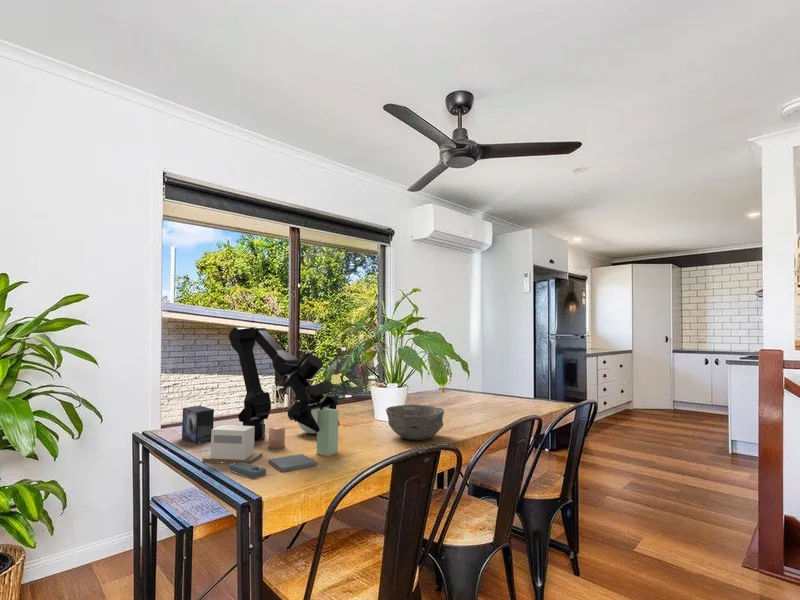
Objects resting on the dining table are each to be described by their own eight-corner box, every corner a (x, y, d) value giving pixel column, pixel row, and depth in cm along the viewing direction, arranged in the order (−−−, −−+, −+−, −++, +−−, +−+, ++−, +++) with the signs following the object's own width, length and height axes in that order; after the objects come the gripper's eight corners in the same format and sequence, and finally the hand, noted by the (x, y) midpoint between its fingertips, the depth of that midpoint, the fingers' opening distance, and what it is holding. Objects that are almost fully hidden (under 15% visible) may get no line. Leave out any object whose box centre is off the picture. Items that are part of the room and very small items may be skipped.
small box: (180, 438, 150) (181, 407, 151) (198, 435, 155) (200, 405, 156) (194, 444, 143) (196, 411, 144) (213, 440, 148) (215, 408, 149)
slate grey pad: (268, 462, 124) (268, 458, 124) (302, 457, 130) (302, 453, 130) (281, 472, 116) (281, 468, 116) (316, 465, 122) (316, 461, 122)
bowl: (377, 442, 148) (378, 412, 149) (394, 429, 168) (394, 403, 169) (438, 447, 143) (438, 416, 143) (448, 433, 162) (448, 406, 163)
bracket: (241, 468, 120) (241, 461, 120) (266, 476, 114) (266, 468, 114) (228, 472, 117) (228, 464, 117) (253, 480, 111) (253, 472, 111)
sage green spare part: (316, 454, 133) (317, 410, 134) (326, 450, 137) (327, 408, 138) (328, 456, 131) (329, 412, 132) (337, 452, 135) (338, 409, 136)
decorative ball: (331, 429, 167) (332, 397, 167) (328, 437, 155) (329, 402, 156) (299, 429, 166) (300, 397, 167) (294, 437, 154) (295, 402, 155)
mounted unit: (202, 462, 124) (203, 429, 124) (217, 454, 132) (218, 423, 132) (250, 464, 122) (251, 431, 123) (262, 456, 130) (263, 425, 131)
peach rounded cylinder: (265, 448, 139) (266, 429, 139) (272, 444, 144) (272, 425, 144) (281, 449, 138) (281, 429, 139) (286, 445, 143) (287, 426, 144)
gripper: (295, 374, 130) (323, 416, 124) (335, 370, 146) (362, 407, 140) (275, 399, 134) (301, 441, 127) (317, 392, 150) (342, 429, 143)
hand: (328, 428), depth 134 cm, fingers open, 9 cm apart
